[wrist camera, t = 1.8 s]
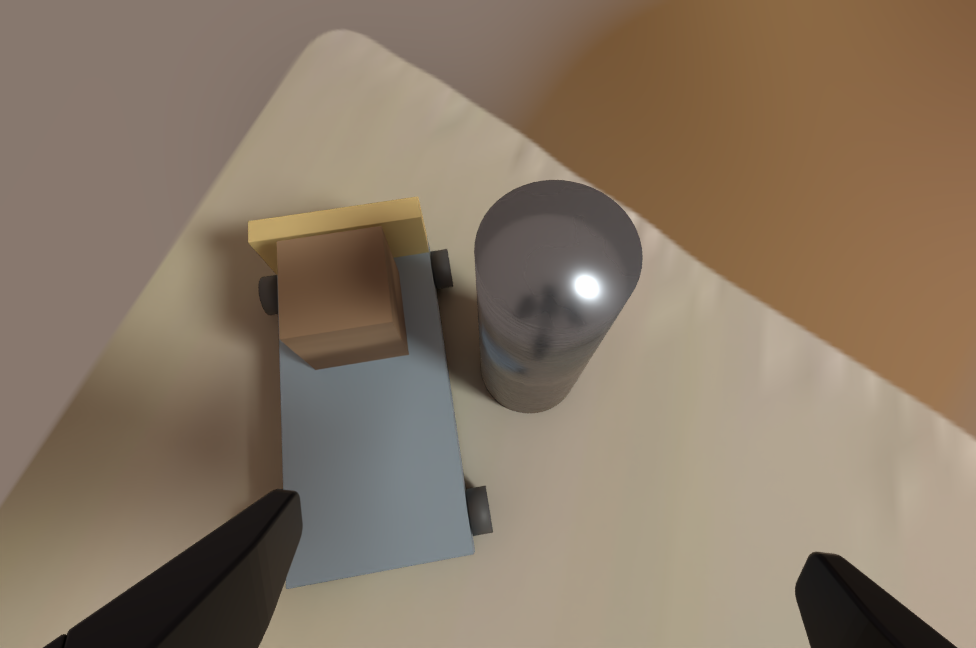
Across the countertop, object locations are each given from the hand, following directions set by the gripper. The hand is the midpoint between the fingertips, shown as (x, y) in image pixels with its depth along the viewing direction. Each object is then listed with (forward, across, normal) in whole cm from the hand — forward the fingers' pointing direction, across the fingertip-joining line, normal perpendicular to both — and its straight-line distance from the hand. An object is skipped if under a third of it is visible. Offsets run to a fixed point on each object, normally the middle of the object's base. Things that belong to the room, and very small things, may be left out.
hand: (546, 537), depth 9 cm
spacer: (+14, 0, +4) cm, 15 cm away
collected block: (+13, +8, +2) cm, 16 cm away
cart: (+12, +7, +6) cm, 15 cm away
